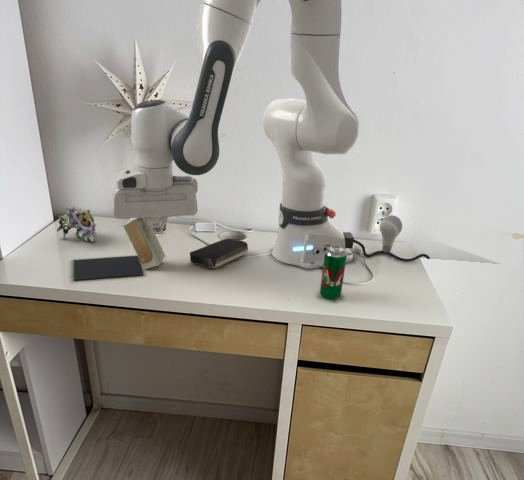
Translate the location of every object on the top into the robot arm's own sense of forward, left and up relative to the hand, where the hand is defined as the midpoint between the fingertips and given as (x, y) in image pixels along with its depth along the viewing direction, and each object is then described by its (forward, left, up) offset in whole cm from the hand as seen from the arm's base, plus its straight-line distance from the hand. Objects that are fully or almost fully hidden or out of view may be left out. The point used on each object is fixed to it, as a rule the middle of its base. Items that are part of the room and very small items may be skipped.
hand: (157, 233), depth 128 cm
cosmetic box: (+1, 0, -8) cm, 8 cm away
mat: (+13, -1, -9) cm, 15 cm away
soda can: (-37, +25, -9) cm, 46 cm away
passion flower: (+20, -22, -9) cm, 31 cm away
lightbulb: (-64, +3, -9) cm, 65 cm away
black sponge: (-16, -1, -9) cm, 19 cm away
